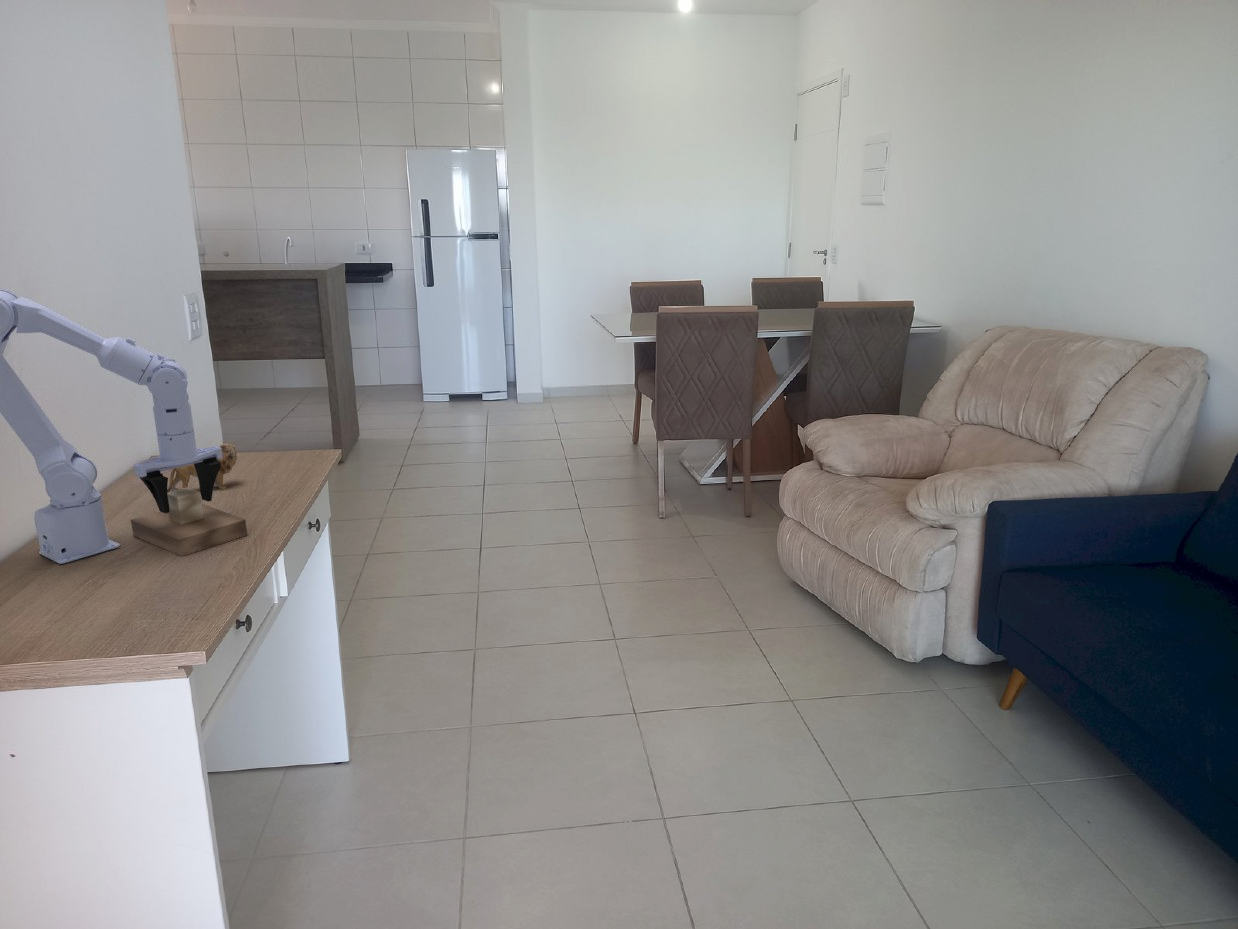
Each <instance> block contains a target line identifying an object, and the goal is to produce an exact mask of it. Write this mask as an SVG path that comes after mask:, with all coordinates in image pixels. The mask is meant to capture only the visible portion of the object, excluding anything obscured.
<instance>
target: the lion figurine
mask: <svg viewBox="0 0 1238 929" xmlns="http://www.w3.org/2000/svg"><path fill="white" fill-rule="evenodd" d="M218 447H220V448H221V449H222V456H223V458H221V459H217V461H220V462H221V468H220V470H219V472H218V474H217V477H216V479H215V483H214V487H215V488H216V487H217V488H219V489H220V490H221V491H222V490H226V489H227V486H225V485H223V484H224V483H223V482H224V475H225V474H229V473H230V472H231V471H232V470H233V467H234V466H235V465H236V463H237V460H238V454H237V451H236V445H232V444H229V443H222V444H221V445H218ZM191 476H193V477H194V478H198V476H197V472H196V469H195V466H194V464H191V465H186V466H182V467H178V468H174V469H171V471H170V476H169V483H168V484H169V485H168V487H167V493H168V492H172V491H176V490H180V489H179V488H176V486H177V485H178V484H180V482H182V487H181V489H183V488H187V487H188V488H189V482H190V478H191Z"/></svg>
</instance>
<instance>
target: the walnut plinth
mask: <svg viewBox="0 0 1238 929" xmlns="http://www.w3.org/2000/svg"><path fill="white" fill-rule="evenodd" d="M202 510H203V518H202V519H199V520H196V521H192V522H189V523H185V524H182V525H181V524H179V523H176V522H174V521H171V520H169V513H163V512H160V511H158V512H154V513H151V514H147V515H144V516H143V515H142V516H139V517H137V518H132V519H130V524H131V529H132V535H133V536H134V537H136V538H138V539H141V540H142V541H145V542H147V543H149V544H151V545H154V546H156V547H159V548H160V549H161V548H162V549H163V550H166V551H168V552H170V553H173V554H175V555H177V556H180V557H184V556H188V555H191V554H193V553H196V551H197V552H200V551H202V550H206V549H208V548H211V547H215V546H218V545H221V544H225V543H228V542H230V541H234V540H237V539H239V538H238V537H240V538H243V537H246V536H248V530H247V522H246V519H245V518H242V517H239V516H236V515H233V514H231V513H229V512H226V511H223V510H220V509H217V508H214V507H212V506H208V505H206V504H204V503H202ZM236 538H237V539H236Z"/></svg>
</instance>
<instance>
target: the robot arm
mask: <svg viewBox="0 0 1238 929" xmlns="http://www.w3.org/2000/svg"><path fill="white" fill-rule="evenodd" d="M15 330H16V334H34V333H42V334H44V335H47V336H49V337H51V338H54V339H56V340H59V341H61V342H63V343H66V344H68V345H70V346H72V347H74V348H77V349H80V350H82V351H84V352H86V353H89V354H90V355H93V356H95V357H96V359H97V360H98V364H99V366H100V367H101V368H103V369H105V370H106V371H109V372H111V373H114V374H116V375H117V376H120V377H122V378H125V380H129V381H131V382H133V383H135V384H137V385H139V386H146V387H147V389H148V391H149V392H150V393H151V394H152V400H153V407H152V411H153V418H154V425H155V432H156V436H157V437H156V438H157V443H158V444H157V445H158V450H159V456H157V457H156V456H155V457H153V458H151V459H149V460H148V459H147V460H145V461H142V462H139V463H135V464H133V471H134V476H136V477H138V478H139V479H140V480H141V481H142V483H143V484H144V485H145V486H146V487H147V489H148V490H149V491H150V494H151V495H152V498H154V500H155V503H156V505H157V507H158V510H159V511H158V512H163V513H169V512H170V507H169V501H168V495H167V490H168V486H169V485H168V484H169V483H168V482H169V478H168V477H167V476H165V475H164V474H163V473H161V472H164V471H169V470H172V469H174V468H178V467H182V466H186V465H191V464H194V466H195V469H196V472H197V476H198V477H197V479H198V486H199V492H200V496H201V501H202V500H203V501H205V502H212V501H213V500H212V499H213V492H214V487H215V486H214V483H215V479H216V477H217V474H218V472H219V470H220V468H221V462H220V461H217V459H221V458H223V456H222V449H221V448H220V447H219V446H211V447H203V448H197V443H196V435H195V428H194V422H193V415H192V408H191V406H192V405H191V403H190V401H189V400H190V398H189V394H188V391H187V388H188V376H187V375H188V374H187V371H186V369H184V367H183V366H182V365H181V364H180V363H179V362H177V361H176V360H175V359H173V358H172V359H171V358H165V355H164V354H161V353H160V352H159V353H158V354H156V353H153V352H152V351H150V350H147V349H146V348H144V347H142V346H140V345H137V344H135V343H136V339H133V338H131V337H130V336H128V337H126V339H125V338H123V337H121V336H114V337H110V338H109V337H108V338H105V337H103V336H101V335H100V334H98V333H96V332H94V331H92V330H90V329H89V328H86V327H85V326H82V325H81V324H79V323H77V322H75V321H73V320H71V319H69V318H67V317H66V316H64V315H62V314H59V313H58V312H56V311H54V310H52V309H50V308H48V307H46V306H45V305H43V304H40V303H37V302H36V301H34V300H32V299H30V298H26V297H23V296H20V297H18V295H16V294H15V293H13V292H11V291H9V290H6V289H2V288H0V414H1V416H2V417H3V419H4V420H5V421H6V423H7V424H8V425H9V426H10V427H11V429H12V430H13V431H14V433H15V435H16V436H17V437H18V438H19V440H20V441H21V442H22V444H23V445H24V446H25V447H26V449H27V450H28V451H29V452H30V454H31V455H32V456H33V459H34V461H35V464H36V468H37V472H38V473H39V475H40V476H41V477H42V479H43V481H44V484H45V492H46V494H47V496H48V497H49V498H50V500H49V504H48V505H46V506H45V507H42V508H39V509H36V511H35V512H34V516H33V517H34V526H35V529H36V533H37V540H38V543H39V549H40V550H39V554H40V555H42V556H44V557H46V558H48V559H49V560H52V561H53V562H55V563H56V564H60V565H61V564H62V565H63V564H67V563H69V562H73V561H77V560H80V559H83V558H87V557H90V556H93V555H96V554H100V553H103V552H106V551H110V550H113V549H116V548H120V546H121V544H120V543H119V542H115V541H113V540H111V539H109V535H108V528H107V524H106V518H105V512H104V507H103V501H102V500H103V499H102V495H101V493H100V492H99V490H97V489H96V487H95V486H94V483H95V481H96V480H97V478H98V469H97V466H96V464H95V463H94V462H93V461H92V460H91V459H90V458H87V457H86V456H84V455H83V454H81V453H80V452H79V451H78V450H77V449H76V448H75V447H74V445H73V444H71V443H69V442H68V441H67V440H65V438H64V437H63V436H62V434H61V433H60V431H58V429H57V428H56V427H55V425H54V424H53V422H52V421H51V419H50V418H49V417H48V415H47V414H46V413H45V411H44V410H43V409H42V407H41V405H39V403H38V402H37V401H36V398H34V396H33V395H32V394H31V392H30V391H29V389H28V388H27V387H26V385H25V384H24V383H23V382H22V380H21V378H20V377H19V376H18V375H17V374H18V373H16V372H15V370H14V368H12V366H11V365H10V363H9V362H8V360H7V359H6V358H5V356H4V353H5V351H6V348H7V344H8V342H9V339H10V336H11V335H12V333H13V332H14V331H15Z"/></svg>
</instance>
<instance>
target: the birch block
mask: <svg viewBox="0 0 1238 929" xmlns="http://www.w3.org/2000/svg"><path fill="white" fill-rule="evenodd" d="M167 495H168V501H169V507H170V512H169V520H171V521H174V522H176V523H179V524H181V525H182V524H185V523H189V522H192V521H196V520H199V519H202V518H203V510H202V504H203V503H202V497H201V493H200V490H195V489H193V488H190V487H189V486H188V487H187V488H180V489H179V490H176V491H172V490H171V491H170V492H168V493H167Z"/></svg>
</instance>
